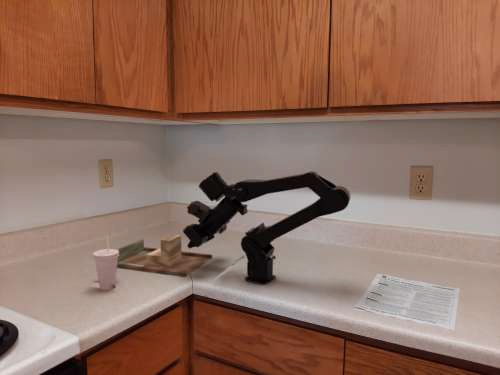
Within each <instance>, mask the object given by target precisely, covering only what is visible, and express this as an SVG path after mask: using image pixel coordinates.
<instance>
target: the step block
mask: <svg viewBox="0 0 500 375" xmlns="http://www.w3.org/2000/svg"><path fill="white" fill-rule="evenodd" d="M181 251H182V235H181V234H170V235H169V236H166V237H164V238H161V239H160V247H159V248H157V250H155V251H153V252H151V253H149V254H147V255H146V256H147V264H149V265H156V266H164V267H171V266H173V265H174V264H176V263H178V262H179V261H181V260H182V252H181Z"/></svg>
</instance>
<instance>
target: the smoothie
mask: <svg viewBox="0 0 500 375" xmlns="http://www.w3.org/2000/svg"><path fill="white" fill-rule="evenodd" d="M116 249H117V248H116ZM116 249H114V248H110V236H109V235H106V248H105V249H99V250H96V251H94V252H93V253H92V258H93V259H94V263H95V267H96V273H97V278H98V279H97V280H98V284H99V290H100V291H103V292H104V291H106V292H107V291H111V290H114V289H115V288H116V283H117V272H118V271H117V270H118V268H117V262H118V256H119V251H118V250H116Z"/></svg>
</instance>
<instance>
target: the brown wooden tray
mask: <svg viewBox="0 0 500 375" xmlns="http://www.w3.org/2000/svg"><path fill="white" fill-rule="evenodd" d="M144 245H145V243H144V239H142V238H140V239H138V240H136V241H133V242H131V243H130V242H129V243H128V244H125V245H124V246H121V247H118V248H116V250H118V251H119V256H118V262H117V269H123V270H131V271H138V272H146V273H150V274H151V273H153V274H160V275H166V276H173V277H175V276H176V277H182V278H185V277H187V276H188V275H190V274H191V273H193V272H194V271H196V270H197V269H199V268H200V267H201V266H203V265H205V264H206V263H207V262H208V261H210V260H212V259H213V254H209V253H203V252H201V253H200V252H191V251H184V250H183V251H182V250H181V252H182V260H181V261H179V262H178V263H176V264H174V265H173V266H171V267H164V266H156V265H149V264H147V256H146V255H147V254H149V253H151V252H153V251H155V250H157V249H158V247H157V248H155V247H145V246H144Z"/></svg>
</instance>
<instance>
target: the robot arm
mask: <svg viewBox="0 0 500 375" xmlns="http://www.w3.org/2000/svg"><path fill="white" fill-rule="evenodd" d="M198 188H199V189H200V190H201V191H202V193H203V194H204V195H205V196H206V197H207V198H208V200H210V201H211V202H214V201H215V202H216V203H217V202H218V203H217V204H216V205H215V206H214V207H213V208H211V207H210V206H208V204H207V205H206V204H205V203H203V202H201V201H199V200H194V201H191V203H190V204H189V205H188V206H187V207H186V209H187V214H188V215H192V216H194V217H195V218H196V219H198V220H197V222H198V223H191V224H188V225H187V226H186V227H184V228H183V230H182V232H183V234H184V236H186V237H187V238H188V240H189V242H188V244H187V248H188V249H192V248H199V247H201V246H203V245H205V244H206V243H208V242H209V241H211V240H214V239H215V235H217V234H219V235H222V234H223V233H224V232H225V231H227V229H228V225H227V224H229V223H230V222H231V220H232V219H233V217H235V216H236V215H237V214H238V213H239V214H240V215H241V216H245V215H246V214H248V204H244V203H246V202H248V201H249V202H250V201H252V200H255V199H257V198H260V197H262V196H265V195H267V194H268V195H269V194H275V193H281V192H287V191H293V190H298V189H299V190H300V189H305V188H308V189H309V190H311V191H312V192H313V193H314V194H315V195H316V196H318V197H319V198H318V199H317V200H316V201H314V202H312V203H311V204H309V205H307V206H305V207H303V208H301V209H300V210H298V211H295V212H294V213H292V214H290V215H289V216H286V217H285V218H283V219H280V220H279V221H277V222H275V223H273V224H271V225H266V226H265V222H261V224H259V225H257V226H256V227H252V228H251V229H249V230H247V231H246V232H245V233H244V236H243V237H242V239H241V240H240V246H241V249H242V251H243V253H245V256H246V259H247V262H246V266H247V268H246V271H247V273H246V275H247V276H246V277H245V278H244V280H245V281H247V282H248V281H249V282H252V283H257V284H261V285H267V284H268V283H269V282H272V280H274V279H276V275H274V273H273V272H274V258H273V257H272V255H273V254H274V252H275V247H274V245H273V244H271V243H272V242H273V241H275V240H277V239H278V238H280V237H282V236H285V235H287V234H288V233H290V232H292V231H294V230H296V229H298V228H300V227H302V226H303V225H305V224H308V223H309V222H311V221H313V220H315V219H318V218H319V217H322V216H328V215H333V214H336V213H338V212H339V213H340V212H342V211H344V210H345V209H347V208H348V205H349V203H350V200H351V193H350V191H349V190H348V188H346V187H345V186H342V185H336V184H334V183H333V182H332V181H330V180H328V179H326V178H324V177H322V175H320V174H318V172H316V171H314V170H313V171H312V170H310V171H308V172H304V173H298V174H293V175H287V176H282V177H276V178H270V179H245V180H241V181H238V182H236V183H235V184H234V183H233V184H228V183H227V182H226V181H225V180H224V179H223V178H222V176H221V175H220V173H219V172H218V171H214V172H213V173H212V174H210V175H209V176H207V177H206V178H205V179H203V180H202V181H201V182H200V183H199V185H198Z"/></svg>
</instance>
